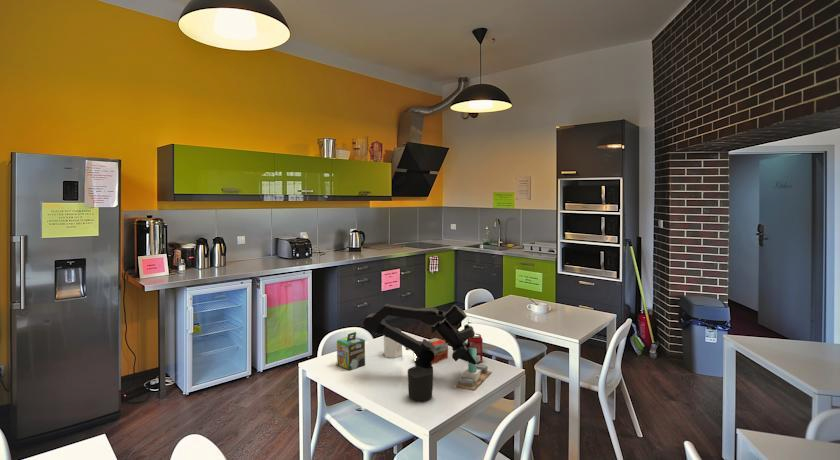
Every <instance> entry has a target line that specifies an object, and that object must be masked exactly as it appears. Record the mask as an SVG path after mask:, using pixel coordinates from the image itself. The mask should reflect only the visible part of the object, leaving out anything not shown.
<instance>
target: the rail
mask: <svg viewBox="0 0 840 460" xmlns="http://www.w3.org/2000/svg"><path fill="white" fill-rule="evenodd" d="M476 369H477V370H480V378H479V379H478V380H477V381H476V382H474V378H469V377H468V378H467V377H464V376H461V377H460V379H459V381H458V382H457V383H456V384H455V385H454V386H455V387H456V388H461V389H465V390H469V391H476V390H477V389H478V388H480V386H481V385H482V384H483V383H484V382H485V380H487V378H488V377H489V376H490V375H491V374H492V373H493V372H492V371H491V370H488V365H485V364H479V363H476Z"/></svg>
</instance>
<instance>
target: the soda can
mask: <svg viewBox="0 0 840 460" xmlns="http://www.w3.org/2000/svg"><path fill="white" fill-rule="evenodd" d="M469 341H470V348H476V349H477V355H476V358H477V360H476V364H479V363H481V362H482V361H483V351H484V350H483V347H484V346H483V345H484V344H483V337H482V334H479V333H476V332H475V336H474V337H472V338H470V339H469V340H468V339H467V341H466V342H467V343H468V342H469Z"/></svg>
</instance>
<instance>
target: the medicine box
mask: <svg viewBox="0 0 840 460" xmlns="http://www.w3.org/2000/svg"><path fill="white" fill-rule="evenodd" d="M427 341H428V342H430V343H433V344H432V345H434V346H435V348H436V354H435V357H434V359H433V361H431V364H432V365H433V364H435V363H438V362H441V361H442V360H446V359H448V357H449V344H448V343H447V344H446V343H445V339H444V340H443V339H440V338H436V337H434V338H431V339H427Z"/></svg>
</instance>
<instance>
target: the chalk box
mask: <svg viewBox="0 0 840 460" xmlns="http://www.w3.org/2000/svg"><path fill="white" fill-rule="evenodd" d="M336 354H337V355H336V357H337V359H336V360H337V361H336V362H337V363H336V365H337V366H338V365H339V367H341V368H343V369H345V368H346V370H348V371H351V370H354V369H356V368H357V369H358V368H360V367H364V366H365V365H366V339H363V338H361V337H357V331H355V332H351V333H348V334H347V337H343V338H340V339H338V340H336Z"/></svg>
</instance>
